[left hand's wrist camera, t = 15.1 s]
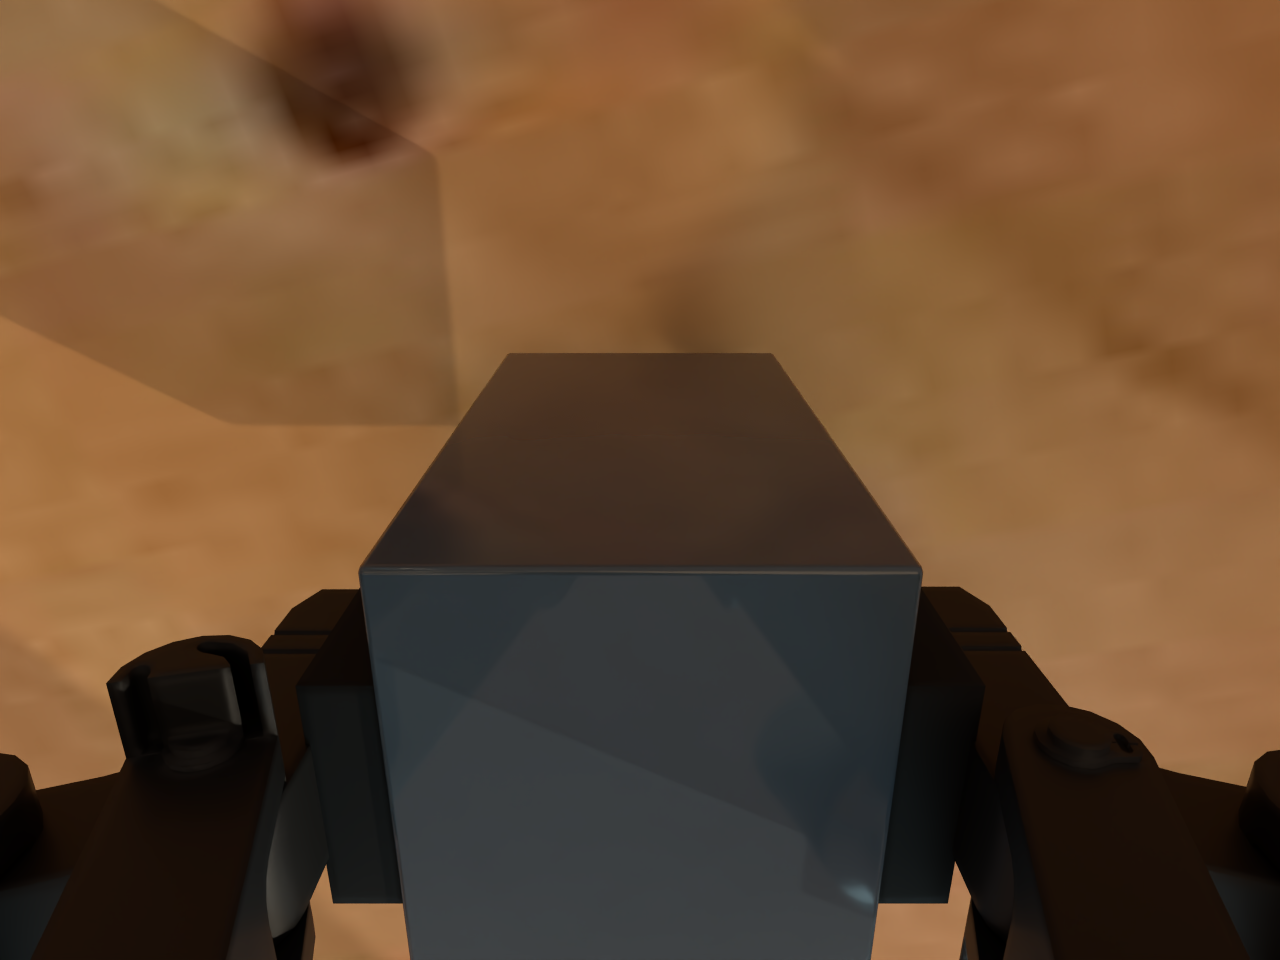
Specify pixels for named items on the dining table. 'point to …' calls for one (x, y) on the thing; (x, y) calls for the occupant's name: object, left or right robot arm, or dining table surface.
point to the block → (640, 670)
